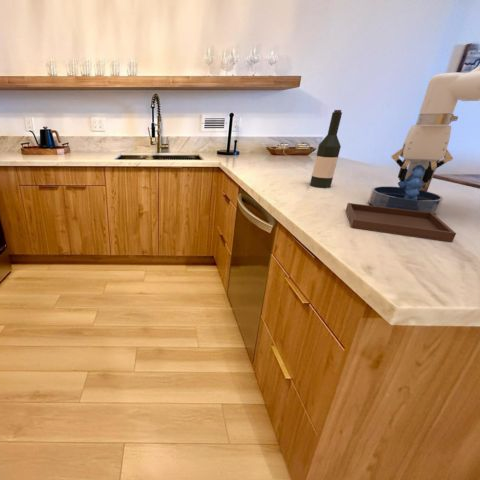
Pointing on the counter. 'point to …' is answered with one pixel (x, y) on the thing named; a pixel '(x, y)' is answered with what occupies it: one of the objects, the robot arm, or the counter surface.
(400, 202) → the bowl
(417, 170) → the grapes
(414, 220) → the tray
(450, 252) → the counter surface
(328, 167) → the wine bottle
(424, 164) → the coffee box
